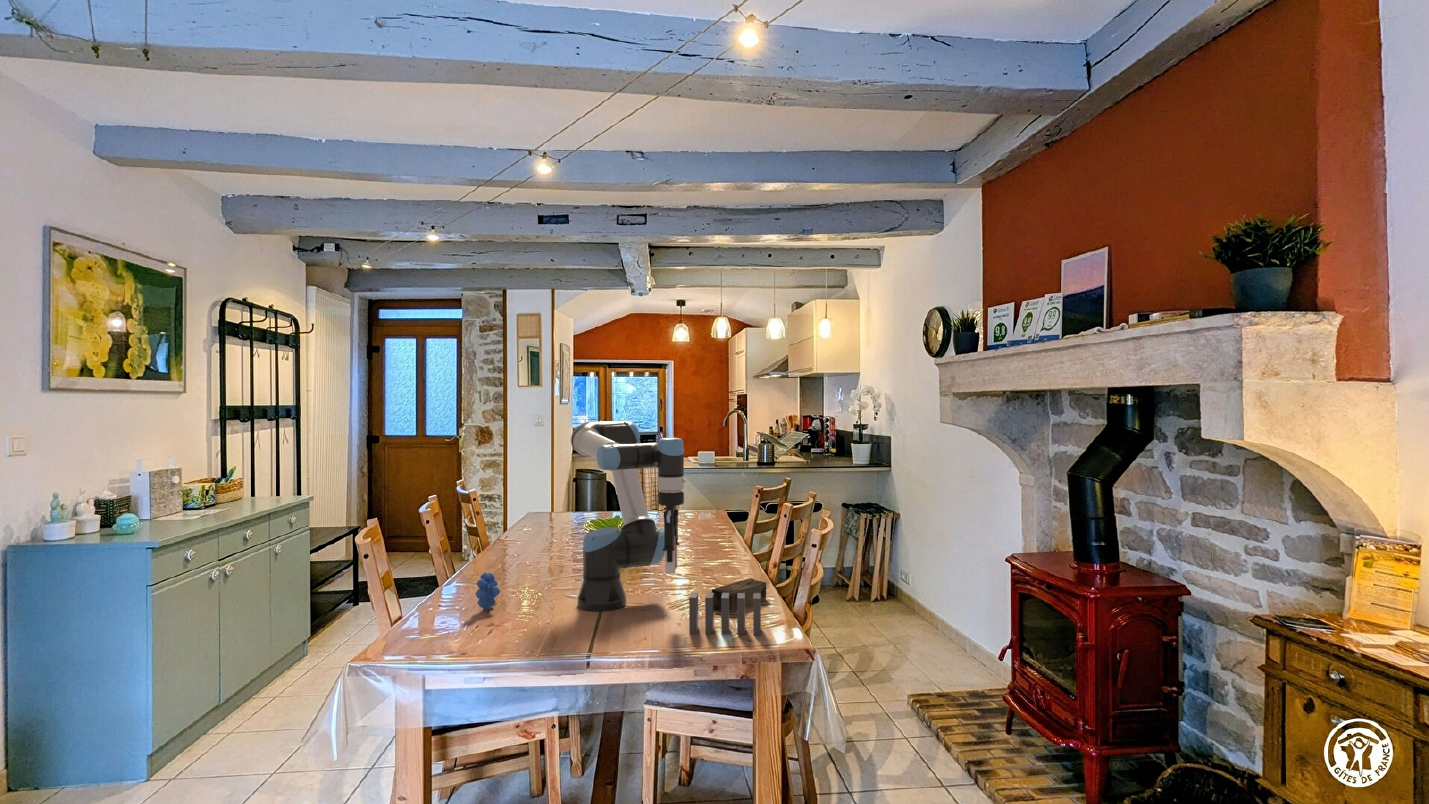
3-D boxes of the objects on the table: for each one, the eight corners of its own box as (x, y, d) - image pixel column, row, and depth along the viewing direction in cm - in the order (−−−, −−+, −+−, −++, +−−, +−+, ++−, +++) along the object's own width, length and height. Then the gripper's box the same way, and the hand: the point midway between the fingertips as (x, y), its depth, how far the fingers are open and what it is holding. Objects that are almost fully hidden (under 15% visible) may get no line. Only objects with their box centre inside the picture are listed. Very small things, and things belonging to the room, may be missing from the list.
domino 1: (689, 633, 189) (689, 597, 189) (691, 627, 194) (691, 592, 194) (696, 633, 189) (696, 597, 189) (698, 627, 194) (698, 592, 194)
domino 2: (705, 634, 189) (705, 597, 188) (706, 627, 194) (706, 592, 193) (712, 634, 188) (712, 597, 188) (713, 628, 193) (713, 592, 193)
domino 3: (721, 634, 188) (721, 598, 188) (722, 628, 193) (722, 592, 193) (728, 634, 188) (728, 598, 188) (729, 628, 193) (729, 592, 193)
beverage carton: (767, 600, 220) (767, 580, 220) (729, 615, 206) (729, 593, 206) (748, 595, 225) (748, 575, 225) (709, 609, 211) (709, 588, 211)
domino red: (666, 573, 198) (666, 538, 198) (669, 569, 203) (668, 535, 203) (673, 573, 198) (673, 538, 198) (675, 569, 203) (675, 535, 203)
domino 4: (737, 634, 188) (737, 598, 188) (737, 628, 193) (737, 593, 193) (744, 634, 188) (744, 598, 188) (745, 628, 193) (744, 593, 193)
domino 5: (753, 634, 188) (753, 598, 188) (753, 628, 193) (753, 593, 193) (760, 635, 187) (760, 598, 187) (760, 628, 192) (760, 593, 192)
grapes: (492, 617, 204) (491, 576, 204) (470, 616, 205) (470, 576, 205) (508, 605, 216) (508, 567, 216) (487, 604, 217) (487, 566, 217)
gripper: (680, 495, 191) (680, 578, 191) (687, 486, 209) (687, 562, 209) (653, 495, 192) (654, 578, 192) (662, 486, 210) (663, 562, 210)
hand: (671, 570), depth 201 cm, fingers closed on domino red, 5 cm apart
